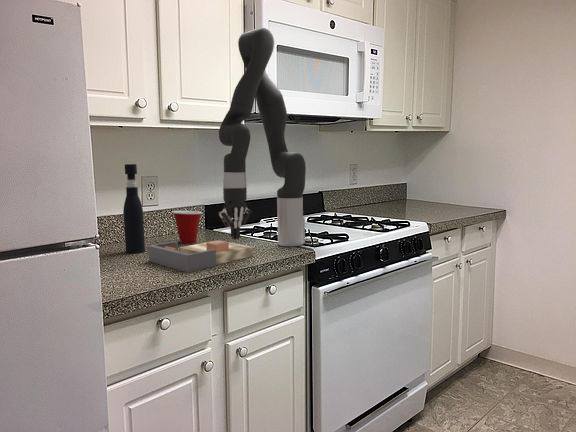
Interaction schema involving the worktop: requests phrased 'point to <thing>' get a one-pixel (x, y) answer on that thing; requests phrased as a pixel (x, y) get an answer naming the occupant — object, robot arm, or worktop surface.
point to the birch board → (222, 252)
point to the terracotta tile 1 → (171, 248)
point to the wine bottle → (133, 214)
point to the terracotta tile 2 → (217, 245)
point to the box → (181, 257)
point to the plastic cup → (187, 225)
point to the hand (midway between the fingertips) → (235, 239)
